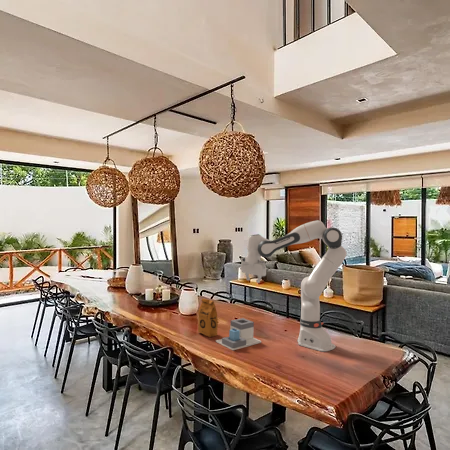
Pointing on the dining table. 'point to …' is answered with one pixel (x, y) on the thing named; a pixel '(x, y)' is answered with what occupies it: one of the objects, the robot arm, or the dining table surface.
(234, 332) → the plug
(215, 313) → the coffee package
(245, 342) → the square socket plate
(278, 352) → the dining table surface
